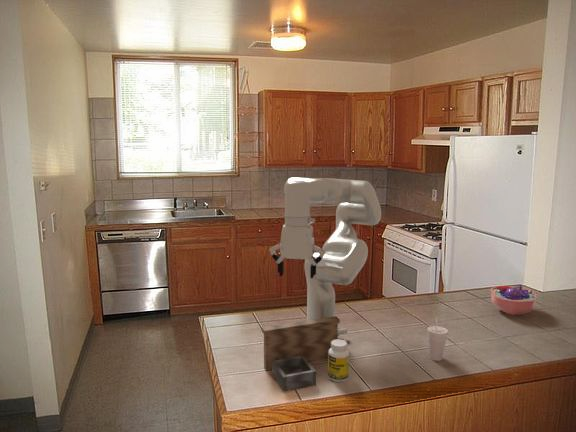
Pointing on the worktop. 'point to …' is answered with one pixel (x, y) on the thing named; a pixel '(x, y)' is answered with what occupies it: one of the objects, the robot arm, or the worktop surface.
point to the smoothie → (436, 341)
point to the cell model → (513, 299)
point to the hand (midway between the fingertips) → (296, 276)
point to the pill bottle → (338, 361)
